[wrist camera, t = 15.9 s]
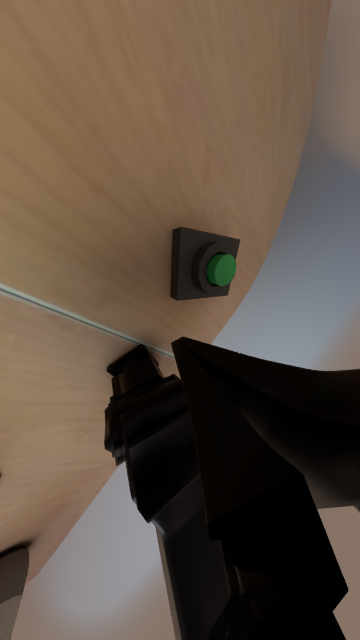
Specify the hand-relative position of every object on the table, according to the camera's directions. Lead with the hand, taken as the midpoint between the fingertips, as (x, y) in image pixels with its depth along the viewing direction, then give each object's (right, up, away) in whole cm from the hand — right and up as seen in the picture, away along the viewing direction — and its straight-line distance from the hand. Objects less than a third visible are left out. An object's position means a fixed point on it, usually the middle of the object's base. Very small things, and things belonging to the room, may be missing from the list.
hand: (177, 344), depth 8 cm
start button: (+5, +9, +11) cm, 15 cm away
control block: (+4, +10, +13) cm, 17 cm away
